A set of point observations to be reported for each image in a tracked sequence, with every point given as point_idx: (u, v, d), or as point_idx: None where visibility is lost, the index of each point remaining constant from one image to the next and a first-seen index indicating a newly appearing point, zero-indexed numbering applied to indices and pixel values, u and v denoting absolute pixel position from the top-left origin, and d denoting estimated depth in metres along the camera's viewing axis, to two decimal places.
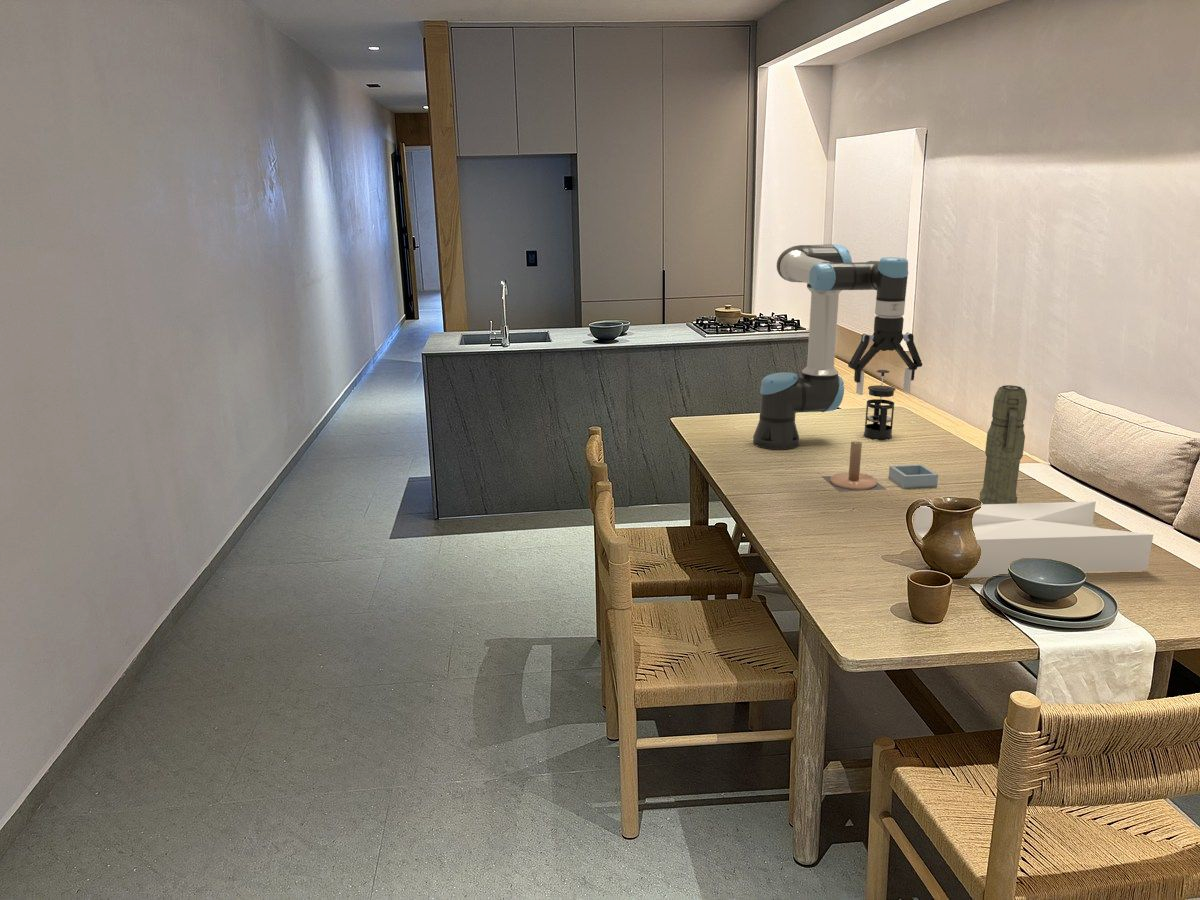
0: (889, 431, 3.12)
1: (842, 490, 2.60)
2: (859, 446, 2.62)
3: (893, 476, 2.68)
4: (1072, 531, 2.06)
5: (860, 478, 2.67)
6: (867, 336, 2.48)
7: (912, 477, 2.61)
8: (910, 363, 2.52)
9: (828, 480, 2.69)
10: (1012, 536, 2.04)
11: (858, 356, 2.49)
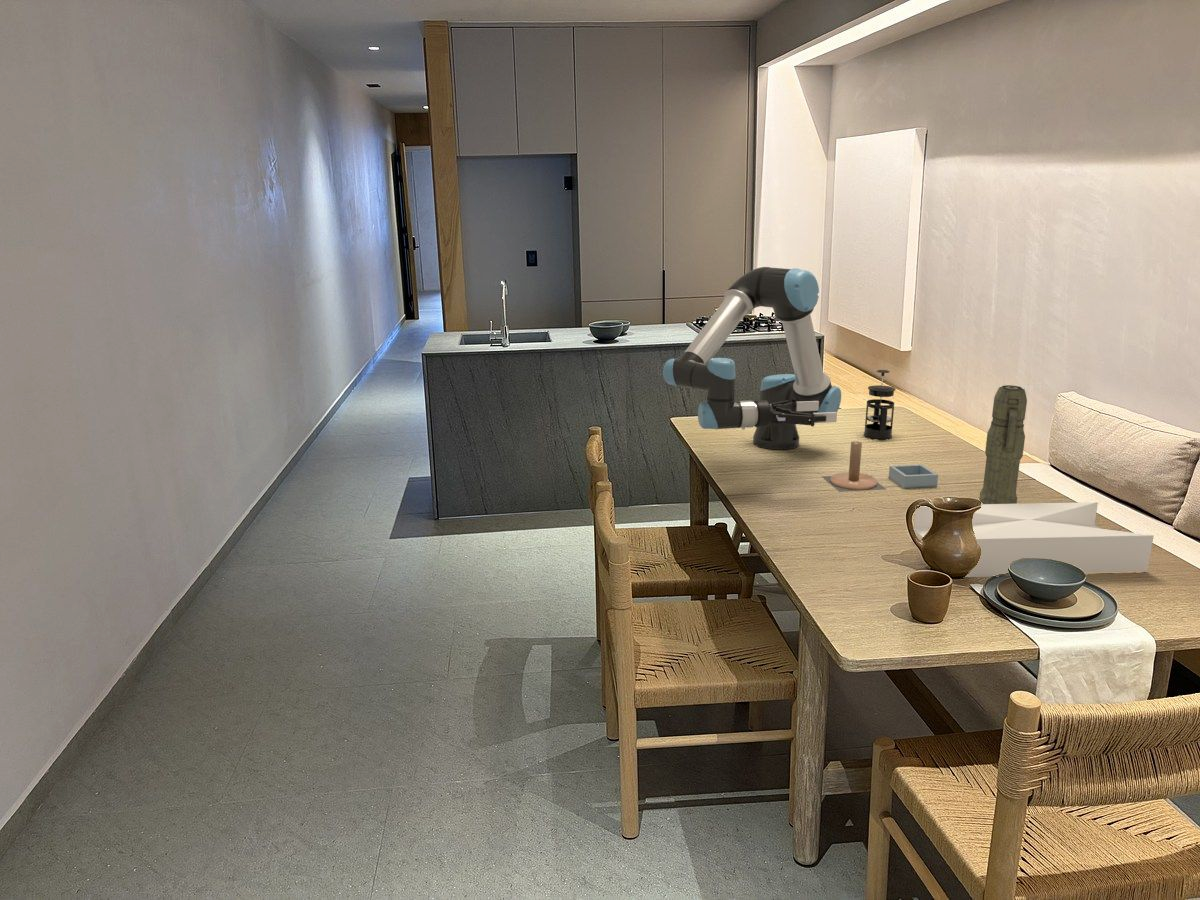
0: (889, 431, 3.12)
1: (842, 490, 2.60)
2: (859, 446, 2.62)
3: (893, 476, 2.68)
4: (1072, 531, 2.06)
5: (860, 478, 2.67)
6: None
7: (912, 477, 2.61)
8: None
9: (828, 480, 2.69)
10: (1011, 535, 2.04)
11: None
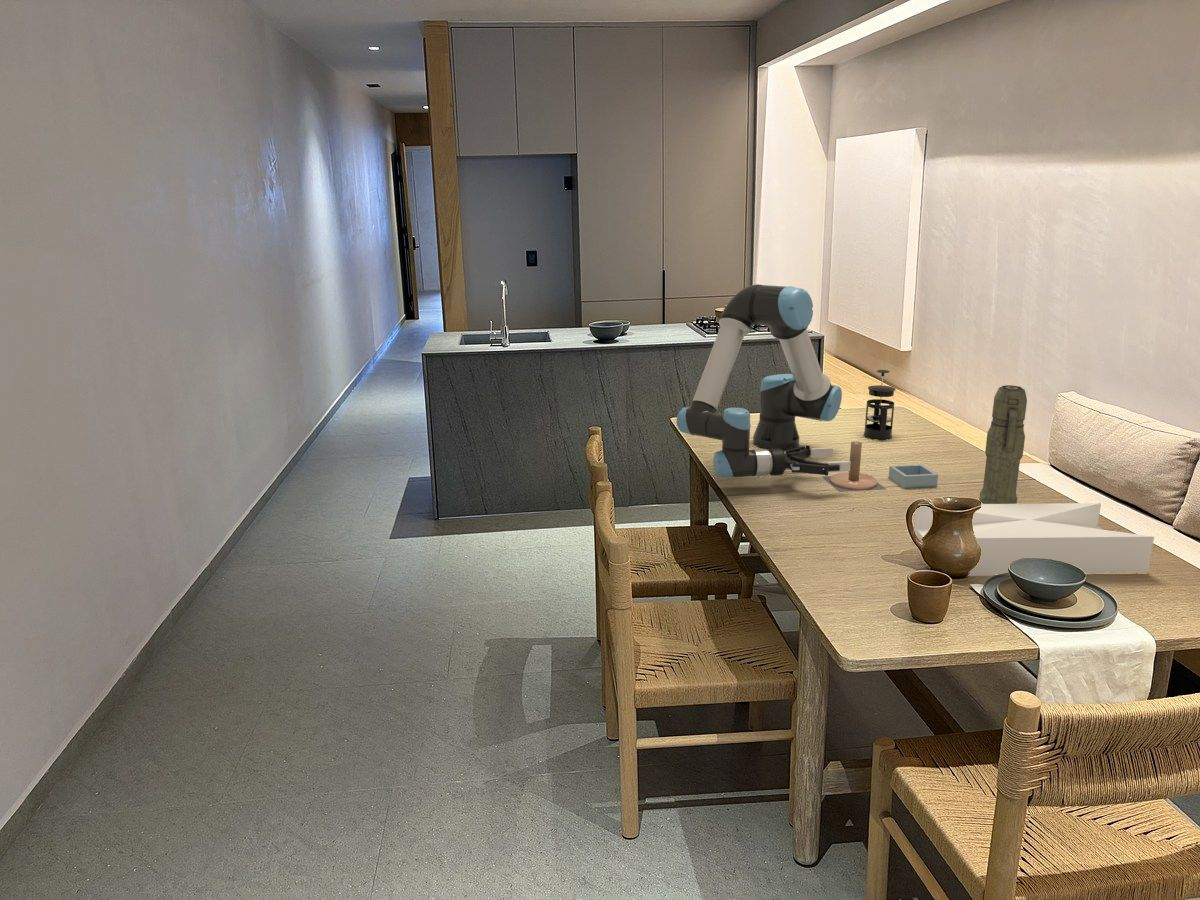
0: (889, 431, 3.12)
1: (842, 490, 2.60)
2: (859, 446, 2.62)
3: (893, 476, 2.68)
4: (1071, 532, 2.06)
5: (860, 478, 2.67)
6: None
7: (912, 477, 2.61)
8: None
9: (828, 480, 2.69)
10: (1008, 535, 2.04)
11: None
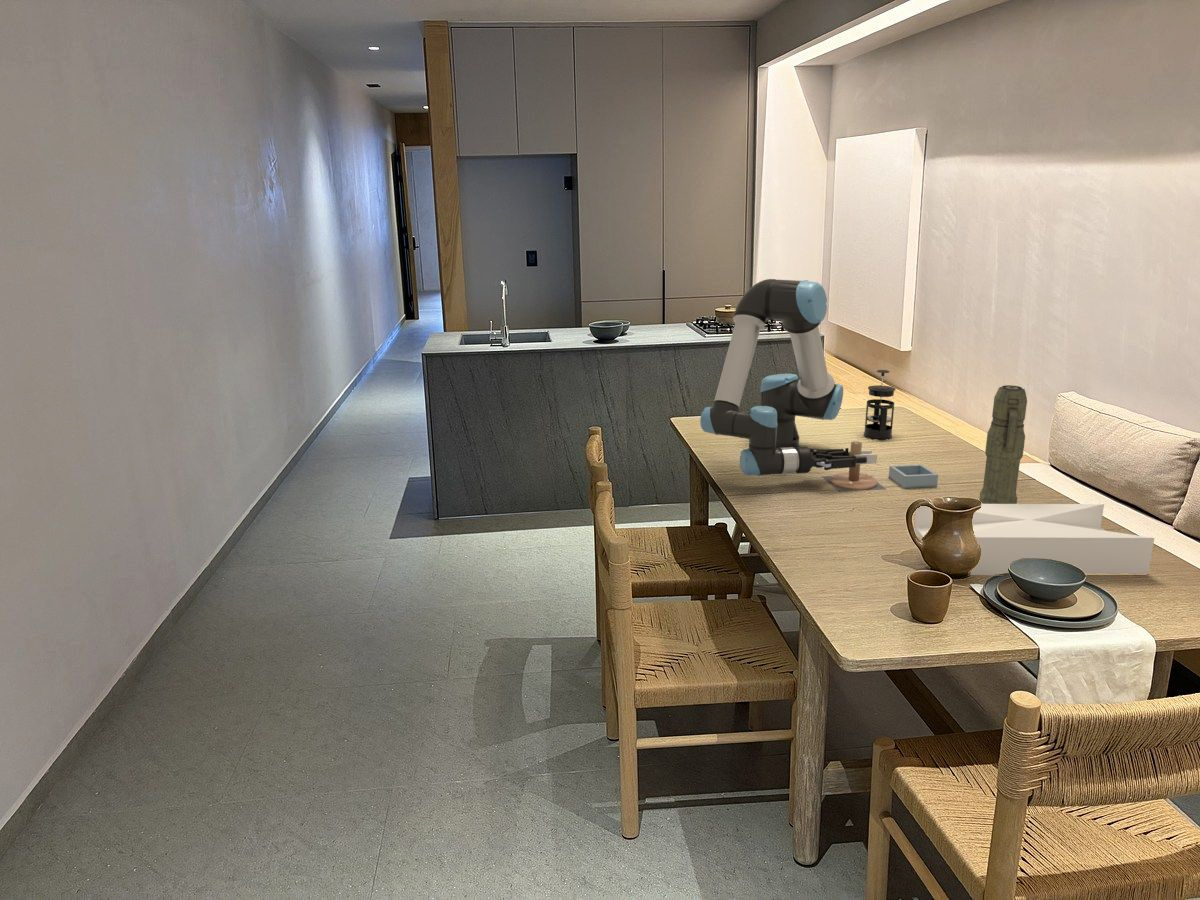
0: (889, 431, 3.12)
1: (842, 490, 2.60)
2: (859, 446, 2.62)
3: (893, 476, 2.68)
4: (1070, 532, 2.06)
5: (860, 478, 2.67)
6: None
7: (912, 477, 2.61)
8: None
9: (828, 480, 2.69)
10: (1007, 534, 2.05)
11: None
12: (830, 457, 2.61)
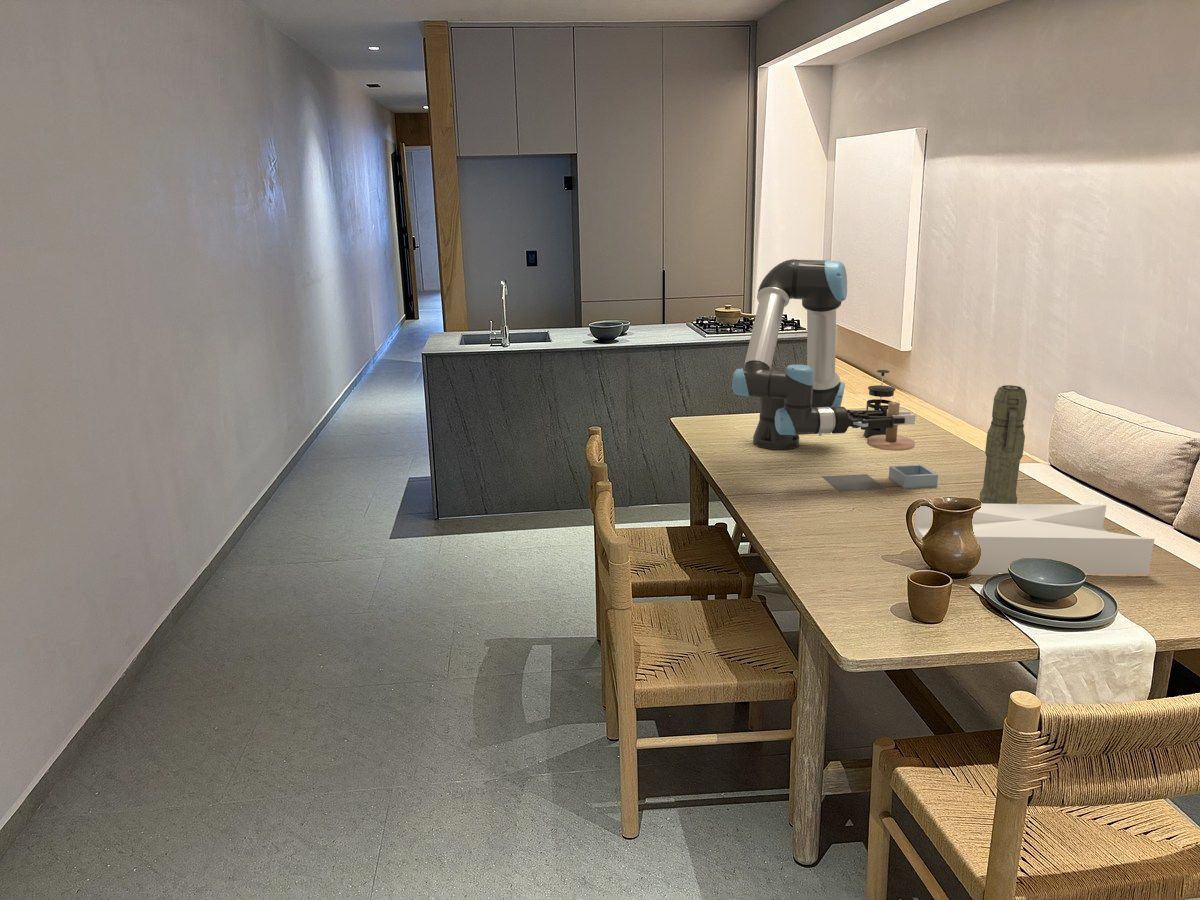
0: None
1: (842, 490, 2.60)
2: (897, 406, 2.58)
3: (893, 476, 2.68)
4: (1070, 532, 2.05)
5: (897, 440, 2.63)
6: None
7: (912, 477, 2.61)
8: None
9: (828, 480, 2.69)
10: (1005, 534, 2.05)
11: None
12: (867, 417, 2.57)
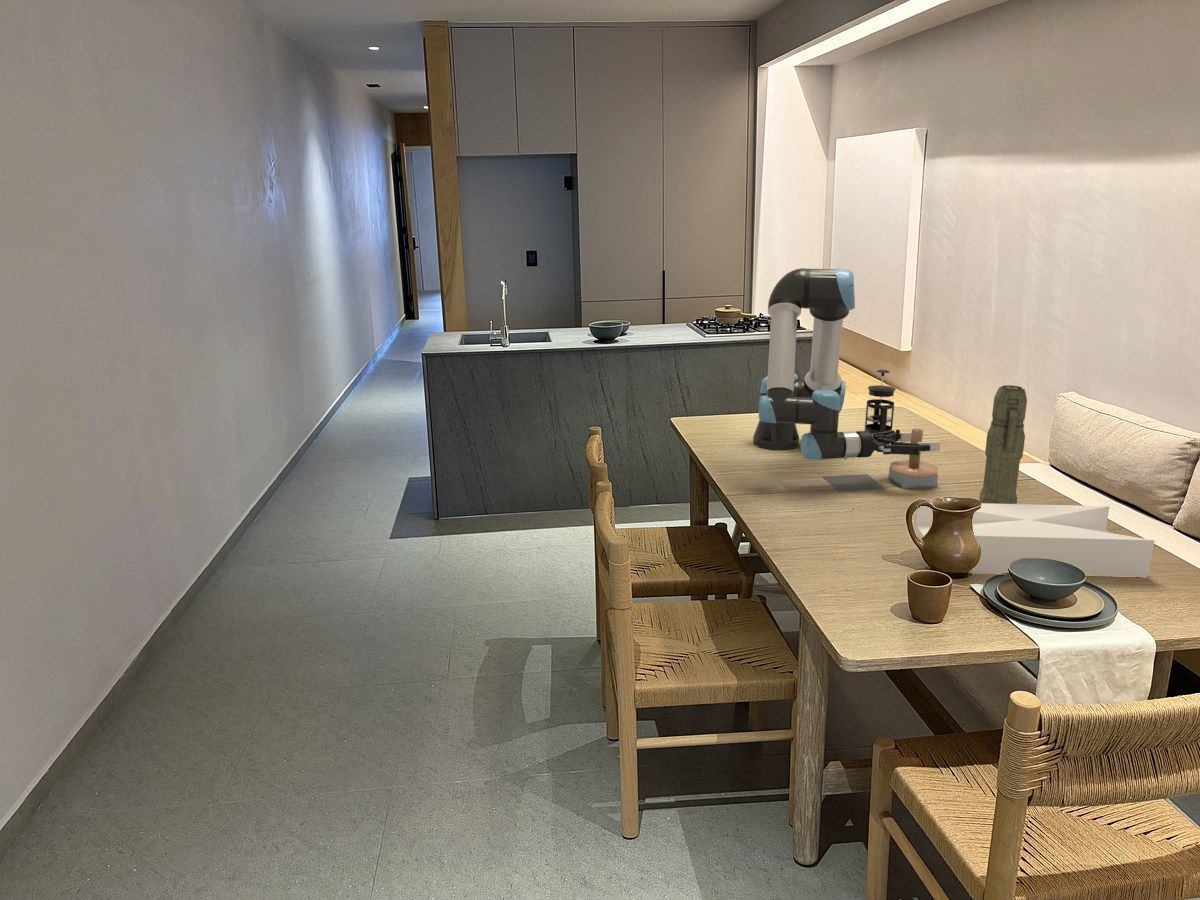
0: None
1: (842, 490, 2.60)
2: (920, 433, 2.61)
3: (893, 476, 2.68)
4: (1069, 533, 2.05)
5: (920, 466, 2.67)
6: None
7: (912, 477, 2.61)
8: None
9: (828, 480, 2.69)
10: (1003, 534, 2.05)
11: None
12: (891, 442, 2.59)
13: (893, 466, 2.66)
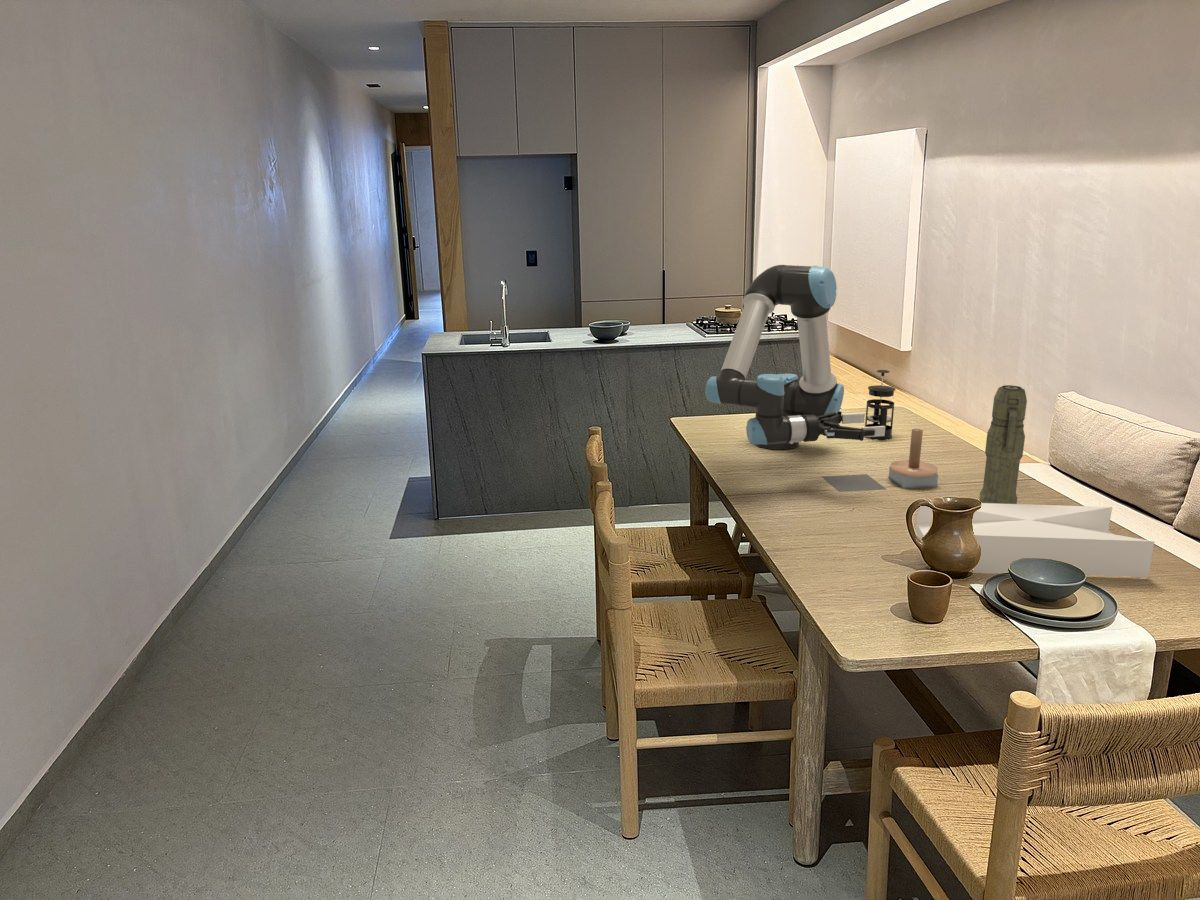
0: (889, 431, 3.12)
1: (842, 490, 2.60)
2: (920, 433, 2.61)
3: (893, 476, 2.68)
4: (1068, 533, 2.05)
5: (920, 466, 2.67)
6: None
7: (912, 477, 2.61)
8: None
9: (828, 480, 2.69)
10: (1001, 533, 2.05)
11: None
12: (836, 426, 2.56)
13: (893, 466, 2.66)
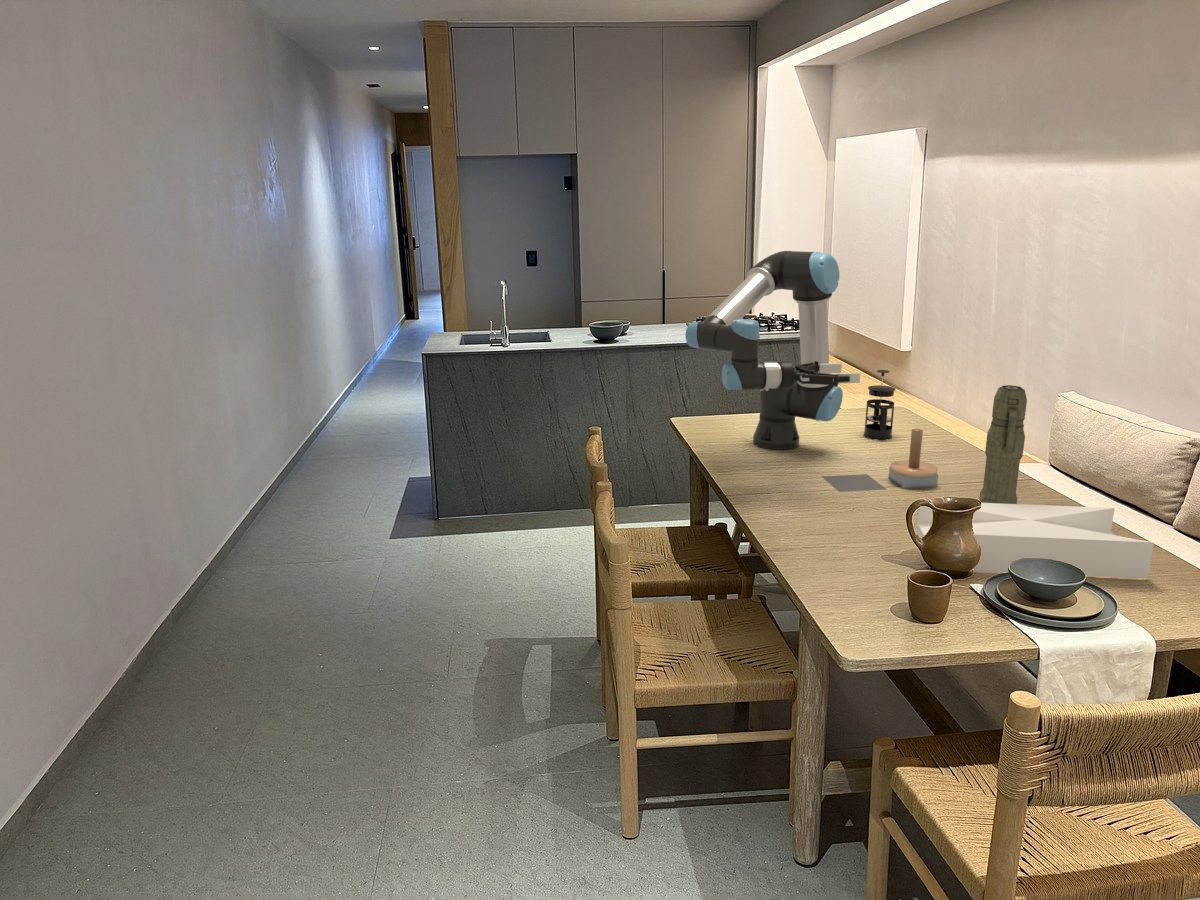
0: (889, 431, 3.12)
1: (842, 490, 2.60)
2: (920, 433, 2.61)
3: (893, 476, 2.68)
4: (1067, 533, 2.05)
5: (920, 466, 2.67)
6: None
7: (912, 477, 2.61)
8: None
9: (828, 480, 2.69)
10: (1000, 533, 2.06)
11: None
12: (811, 373, 2.56)
13: (893, 466, 2.66)
